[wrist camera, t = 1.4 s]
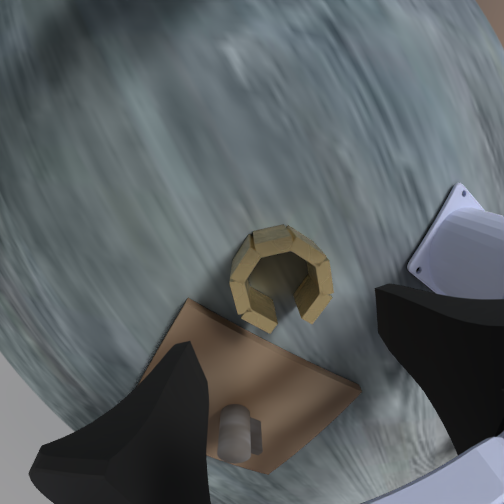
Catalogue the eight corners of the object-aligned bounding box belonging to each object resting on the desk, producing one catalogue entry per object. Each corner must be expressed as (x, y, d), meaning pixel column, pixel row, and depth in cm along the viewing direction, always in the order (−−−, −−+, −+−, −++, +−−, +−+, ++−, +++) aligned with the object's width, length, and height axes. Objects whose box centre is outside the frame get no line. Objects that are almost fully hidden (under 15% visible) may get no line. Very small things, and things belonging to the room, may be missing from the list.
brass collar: (225, 237, 20) (221, 251, 16) (310, 218, 19) (324, 228, 16) (244, 312, 21) (244, 338, 18) (323, 295, 21) (336, 318, 17)
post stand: (358, 384, 23) (379, 428, 18) (267, 467, 26) (270, 508, 21) (187, 297, 21) (170, 338, 15) (123, 409, 24) (105, 451, 18)
